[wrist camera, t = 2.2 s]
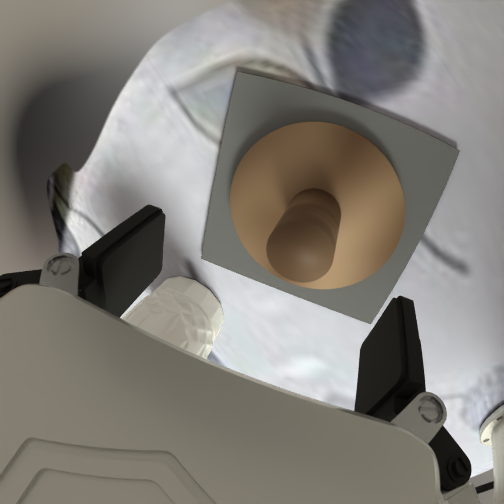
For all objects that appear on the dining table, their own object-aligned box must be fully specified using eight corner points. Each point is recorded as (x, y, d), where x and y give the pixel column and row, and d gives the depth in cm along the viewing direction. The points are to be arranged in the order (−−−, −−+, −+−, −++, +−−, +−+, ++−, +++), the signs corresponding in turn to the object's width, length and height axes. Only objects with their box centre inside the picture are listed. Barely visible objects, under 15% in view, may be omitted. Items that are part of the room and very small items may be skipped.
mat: (457, 149, 14) (459, 150, 14) (370, 320, 22) (370, 324, 22) (239, 72, 16) (236, 71, 16) (203, 256, 24) (201, 258, 24)
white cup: (144, 267, 27) (72, 336, 19) (220, 271, 24) (152, 361, 16) (169, 332, 31) (116, 402, 22) (238, 343, 28) (191, 430, 20)
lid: (430, 162, 15) (458, 192, 10) (362, 303, 21) (357, 363, 16) (254, 99, 17) (211, 104, 12) (222, 249, 23) (183, 295, 18)
